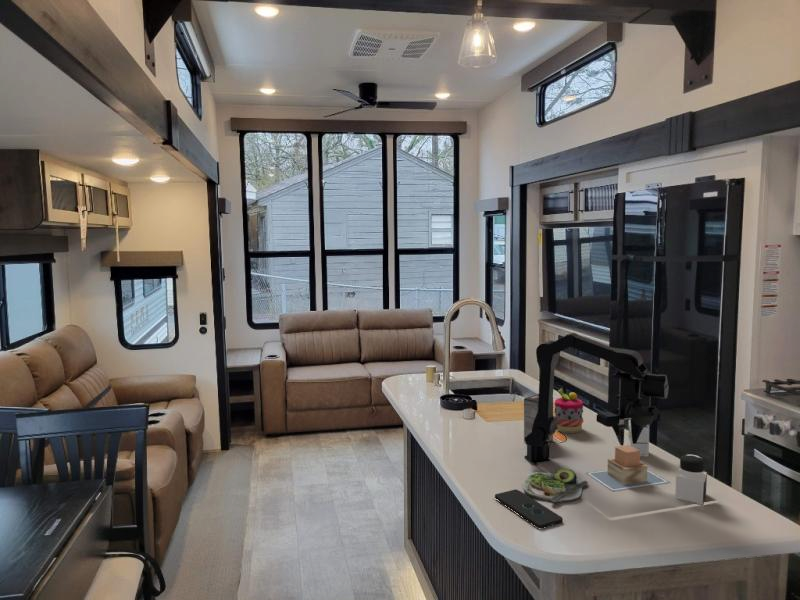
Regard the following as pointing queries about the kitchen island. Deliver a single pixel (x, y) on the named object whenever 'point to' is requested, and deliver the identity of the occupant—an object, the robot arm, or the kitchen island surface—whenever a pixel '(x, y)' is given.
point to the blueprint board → (617, 486)
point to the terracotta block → (627, 456)
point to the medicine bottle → (691, 480)
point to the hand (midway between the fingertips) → (628, 444)
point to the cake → (569, 413)
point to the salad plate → (555, 485)
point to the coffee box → (531, 414)
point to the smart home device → (529, 508)
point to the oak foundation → (627, 472)
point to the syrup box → (640, 441)
